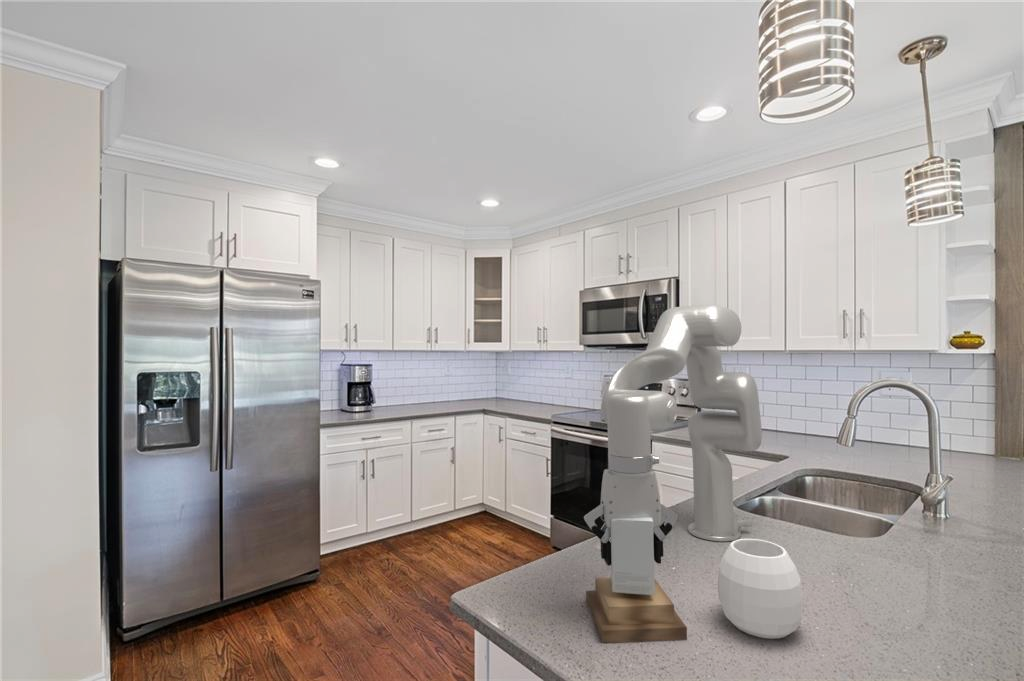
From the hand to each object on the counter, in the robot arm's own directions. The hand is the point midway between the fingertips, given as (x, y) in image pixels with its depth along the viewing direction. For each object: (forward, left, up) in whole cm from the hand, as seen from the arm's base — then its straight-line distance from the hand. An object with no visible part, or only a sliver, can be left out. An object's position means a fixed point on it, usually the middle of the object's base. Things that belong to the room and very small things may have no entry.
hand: (632, 561), depth 90 cm
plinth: (0, 0, -10) cm, 10 cm away
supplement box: (0, 0, -4) cm, 4 cm away
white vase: (-21, +4, -10) cm, 24 cm away
